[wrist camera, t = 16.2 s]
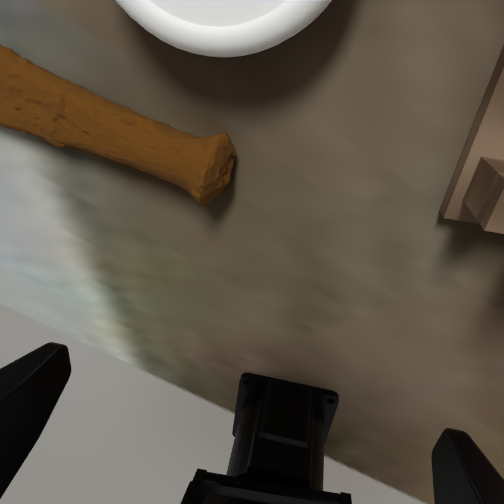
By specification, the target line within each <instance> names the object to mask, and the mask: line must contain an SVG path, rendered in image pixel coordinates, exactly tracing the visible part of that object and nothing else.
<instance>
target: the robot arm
mask: <svg viewBox="0 0 504 504" xmlns="http://www.w3.org/2000/svg"><path fill="white" fill-rule="evenodd" d="M70 374H71V364H70V358H69V352H68V348H67V346H66V345H63V344H58V343H54V342H51V343H47V344H45V345H43V346H41V347H39V348H37V349H36V350H34V351H32V352H30V353H28V354H26V355H25V356H23V357H21V358H19V359H17V360H15V361H14V362H12V363H10V364H8V365H7V366H5V367H3V368H1V369H0V499H1V497H2V495H3V494H4V492H5V491H6V489H7V487H8V486H9V484H10V483H11V481H12V480H13V478H14V476H15V475H16V473H17V472H18V470H19V468H20V467H21V465H22V464H23V462H24V461H25V459H26V458H27V456H28V454H29V453H30V451H31V450H32V448H33V447H34V445H35V443H36V442H37V440H38V438H39V437H40V435H41V433H42V431H43V429H44V427H45V425H46V423H47V421H48V419H49V417H50V415H51V413H52V411H53V409H54V407H55V405H56V403H57V401H58V399H59V397H60V395H61V393H62V391H63V389H64V387H65V385H66V384H67V382H68V380H69V377H70ZM247 380H248V381H247ZM330 398H332V399H330ZM338 403H339V395H338V394H337V393H336V392H334V391H331V390H326V389H322V388H317V387H312V386H308V385H303V384H298V383H294V382H289V381H284V380H280V379H275V378H270V377H266V376H261V375H256V374H252V373H243V374H242V375H241V378H240V382H239V390H238V397H237V404H236V411H235V418H234V425H233V433H232V434H233V436H234V437H235V440H234V444H233V449H232V453H231V457H230V461H229V466H228V471H227V474H226V475H223V474H216V473H211V472H207V470H203V469H197V471H196V474H195V476H194V478H193V481H190V483H189V485H188V488H187V490H186V493H185V495H184V497H183V499H182V502H181V504H352V501H351V494H349V493H343V492H341V493H340V494H338V493H332V492H326V491H323V469H324V467H323V466H324V444H325V441H326V438H327V435H328V432H329V429H330V426H331V423H332V420H333V418H334V415H335V412H336V409H337V406H338ZM432 472H433V486H434V500H435V504H504V479H503V478H502V477H501V475H500V474H499V473H498V472H497V470H496V469H495V468H494V467H493V465H492V464H491V463H490V461H489V460H488V459H487V458H486V456H485V455H484V454H483V453H482V451H481V450H480V449H479V448H478V446H477V445H476V444H475V442H474V441H473V440H472V439H471V437H470V436H469V435H468V434H467V433H466V432H464V431H461V430H456V429H451V428H446V429H445V430H444V431H443V432H442V434H441V436H440V438H439V439H438V441H437V443H436V445H435V446H434V448H433V451H432Z"/></svg>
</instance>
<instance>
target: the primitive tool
mask: <svg viewBox="0 0 504 504" xmlns="http://www.w3.org/2000/svg"><path fill="white" fill-rule="evenodd" d="M0 126H3V127H6V128H10V129H13V130H16V131H23V132H26V133H27V134H31V135H34V136H37V137H40V138H43V139H44V140H45V141H47V142H49V143H51V144H52V145H54V146H57V147H75V148H78V149H81V150H84V151H86V152H89V153H92V154H94V155H97V156H104V157H106V158H108V159H111V160H113V161H116V162H119V163H123V164H126V165H129V166H132V167H134V168H137V169H139V170H141V171H143V172H145V173H147V174H152V175H154V176H157V177H159V178H161V179H163V180H165V181H168V182H171V183H173V184H176V185H178V186H180V187H181V188H183V189H185V190H186V191H187V192H189V193H190V194H191V196H192V197H193V198H194V199H195V201H196V202H197V203H198V204H199V205H200V206H206V205H207V204H209V203H210V202H212V200H213V199H215V198H216V197H217V196H218V195H219V194H221V193H222V192H223V191H222V190H223V187H224V186H226V185H227V184H228V183H229V181H230V174H231V171H232V167H233V163H234V159H235V156H236V151H235V148H234V146H233V145H232V143H231V140H230V137H229V135H228V134H227V133H226V132H224V133H219V134H215V135H212V136H208V137H195V136H193V135H191V134H189V133H186V132H182V131H179V130H176V129H174V128H172V127H171V126H169V125H168V124H165V123H162V122H159V121H155V120H152V119H150V118H147V117H145V116H143V115H141V114H139V113H136V112H134V111H132V110H131V109H129V108H127V107H124V106H121V105H118V104H116V103H113V102H111V101H109V100H107V99H105V98H103V97H100V96H98V95H96V94H94V93H92V92H90V91H89V90H87V89H86V88H84V87H83V86H80V85H77V84H74V83H72V82H70V81H68V80H66V79H63V78H61V77H59V76H57V75H55V74H53V73H51V72H49V71H47V70H45V69H43V68H41V67H39V66H37V65H35V64H34V63H32V62H31V61H29V60H28V59H24V58H22V57H21V56H20V55H18V54H17V53H16V52H14V51H13V50H12V49H11V48H6V47H3V46H1V45H0Z"/></svg>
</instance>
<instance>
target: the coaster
mask: <svg viewBox="0 0 504 504" xmlns="http://www.w3.org/2000/svg"><path fill="white" fill-rule="evenodd" d="M331 1H332V0H116V2H117V3H118V4H119V5H120V6H121V7H122V8H123V9H124V10H125V11H126V12H127V14H128V15H129V16H130V17H131V18H132V19H134V20H135V21H136V22H137V23H138V24H140V25H141V26H142V27H143V28H144V29H146V30H147V31H148V32H150V33H151V34H153V35H154V36H156V37H157V38H159V39H160V40H162V41H164V42H166V43H168V44H170V45H172V46H174V47H176V48H178V49H181V50H184V51H187V52H191V53H194V54H199V55H204V56H210V57H237V56H245V55H249V54H254V53H258V52H261V51H263V50H266V49H269V48H271V47H274V46H276V45H278V44H280V43H281V42H283V41H285V40H287V39H289V38H290V37H292V36H294V35H296V34H297V33H299V32H300V31H301V30H303V29H304V28H305V27H307V26H308V25H309V24H311V23H312V22H313V21H314V20H315V19H316V18H317V17H318V16H319V15H320V14H321V13H322V12H323V11H324V10H325V9H326V7H327V6H328V5H329V4H330V2H331Z"/></svg>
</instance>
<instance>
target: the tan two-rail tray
mask: <svg viewBox="0 0 504 504" xmlns="http://www.w3.org/2000/svg"><path fill="white" fill-rule="evenodd" d="M440 213H441V214H442V216H443V218H447V219H452V220H458V221H464V222H470V223H476V224H480V225H481V227H482V228H483V230H484V231H490V232H496V233H502V234H504V47H503V49H502V52H501V54H500V57H499V60H498V62H497V65H496V67H495V70H494V72H493V75H492V77H491V80H490V83H489V85H488V88H487V90H486V93H485V95H484V98H483V101H482V103H481V106H480V108H479V111H478V113H477V116H476V118H475V121H474V124H473V126H472V129H471V131H470V134H469V136H468V139H467V142H466V144H465V147H464V149H463V152H462V154H461V157H460V160H459V162H458V165H457V167H456V170H455V172H454V175H453V177H452V180H451V183H450V185H449V188H448V190H447V193H446V195H445V198H444V201H443V203H442V206H441V208H440Z"/></svg>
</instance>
